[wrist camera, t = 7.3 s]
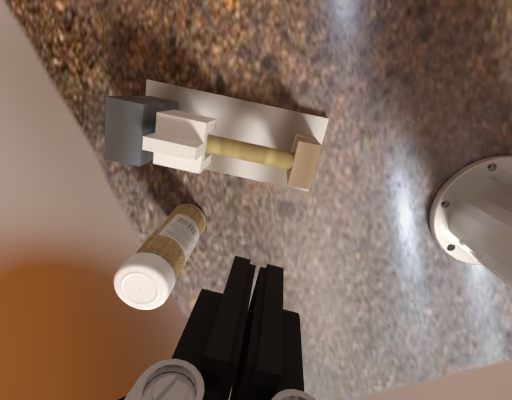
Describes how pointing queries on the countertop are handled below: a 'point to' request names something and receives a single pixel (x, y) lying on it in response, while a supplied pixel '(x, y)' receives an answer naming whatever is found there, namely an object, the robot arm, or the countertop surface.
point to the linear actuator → (222, 133)
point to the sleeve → (180, 140)
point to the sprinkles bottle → (160, 259)
